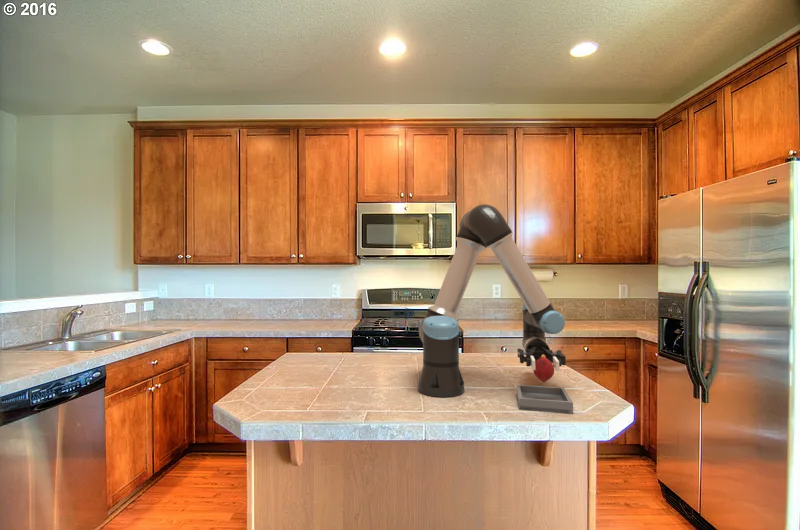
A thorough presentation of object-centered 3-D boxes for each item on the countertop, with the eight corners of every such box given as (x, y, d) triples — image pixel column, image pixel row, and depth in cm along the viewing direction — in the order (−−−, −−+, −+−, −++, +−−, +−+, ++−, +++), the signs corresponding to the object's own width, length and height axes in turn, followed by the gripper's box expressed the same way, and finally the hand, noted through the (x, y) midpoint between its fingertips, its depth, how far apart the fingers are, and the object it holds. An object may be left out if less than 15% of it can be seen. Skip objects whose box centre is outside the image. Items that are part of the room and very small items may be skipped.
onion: (552, 386, 108) (551, 357, 108) (531, 383, 111) (530, 355, 111) (556, 381, 113) (555, 353, 113) (536, 378, 116) (535, 352, 116)
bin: (573, 413, 103) (573, 402, 103) (519, 409, 107) (519, 398, 107) (564, 397, 117) (563, 387, 117) (516, 394, 120) (516, 384, 120)
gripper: (566, 361, 127) (582, 381, 105) (508, 359, 132) (511, 377, 109) (566, 339, 127) (581, 353, 105) (508, 337, 132) (511, 351, 109)
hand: (545, 365), depth 107 cm, fingers closed on onion, 6 cm apart
